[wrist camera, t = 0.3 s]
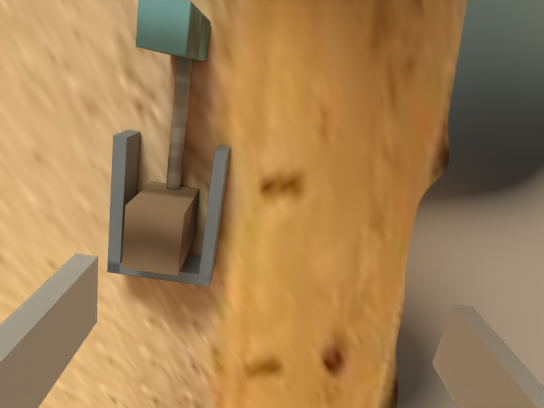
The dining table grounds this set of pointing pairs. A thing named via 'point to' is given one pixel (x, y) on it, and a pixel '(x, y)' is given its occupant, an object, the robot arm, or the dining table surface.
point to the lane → (125, 191)
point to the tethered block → (171, 196)
